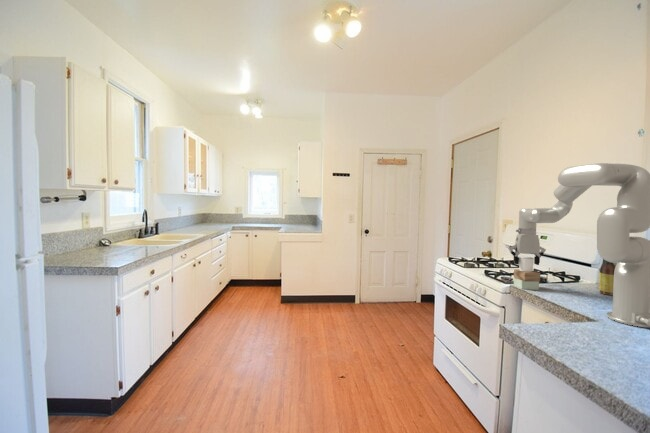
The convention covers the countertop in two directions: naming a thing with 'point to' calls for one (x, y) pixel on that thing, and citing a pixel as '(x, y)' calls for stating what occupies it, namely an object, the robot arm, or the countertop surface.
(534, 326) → the countertop surface
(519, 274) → the upper block
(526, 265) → the shot glass
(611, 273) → the sauce bottle
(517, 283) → the lower block
